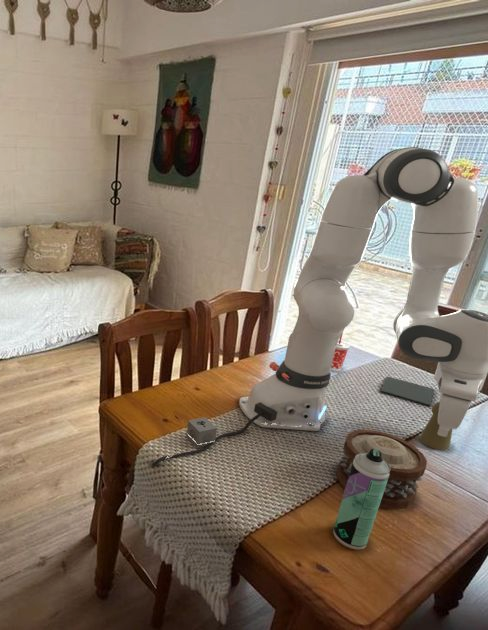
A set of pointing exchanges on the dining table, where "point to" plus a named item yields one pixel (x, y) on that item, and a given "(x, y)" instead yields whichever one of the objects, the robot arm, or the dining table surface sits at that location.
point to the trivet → (408, 391)
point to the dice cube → (201, 431)
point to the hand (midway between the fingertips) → (442, 425)
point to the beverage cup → (339, 355)
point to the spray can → (361, 499)
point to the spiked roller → (400, 458)
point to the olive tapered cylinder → (435, 432)
